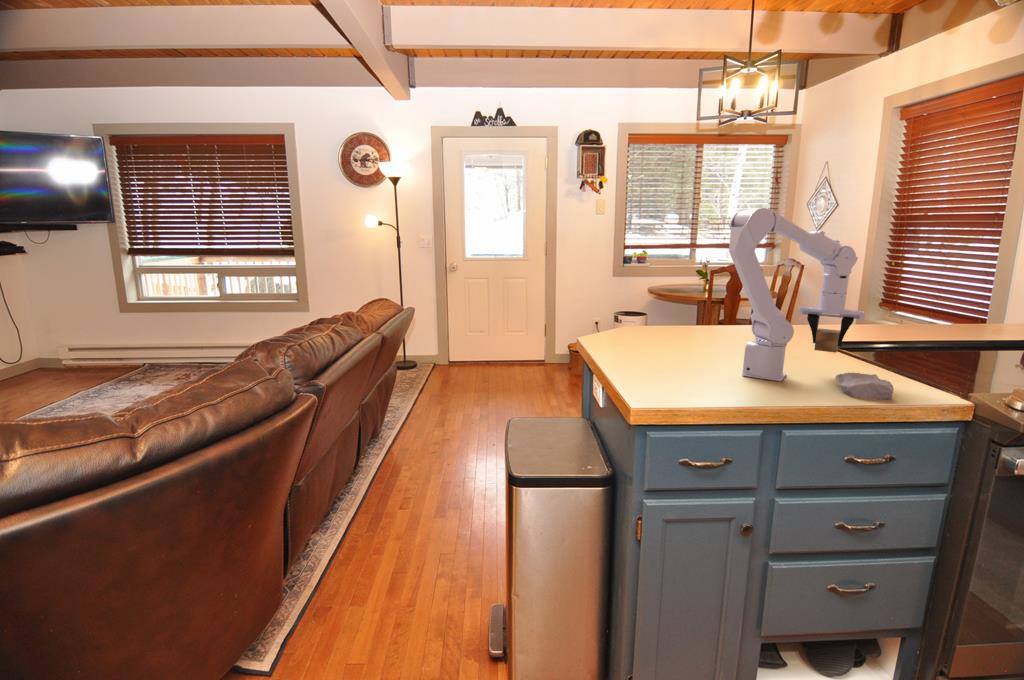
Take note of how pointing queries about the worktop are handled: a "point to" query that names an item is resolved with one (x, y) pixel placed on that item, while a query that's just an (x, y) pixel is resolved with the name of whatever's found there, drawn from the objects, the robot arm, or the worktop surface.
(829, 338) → the walnut cube
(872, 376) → the stone block
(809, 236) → the robot arm
